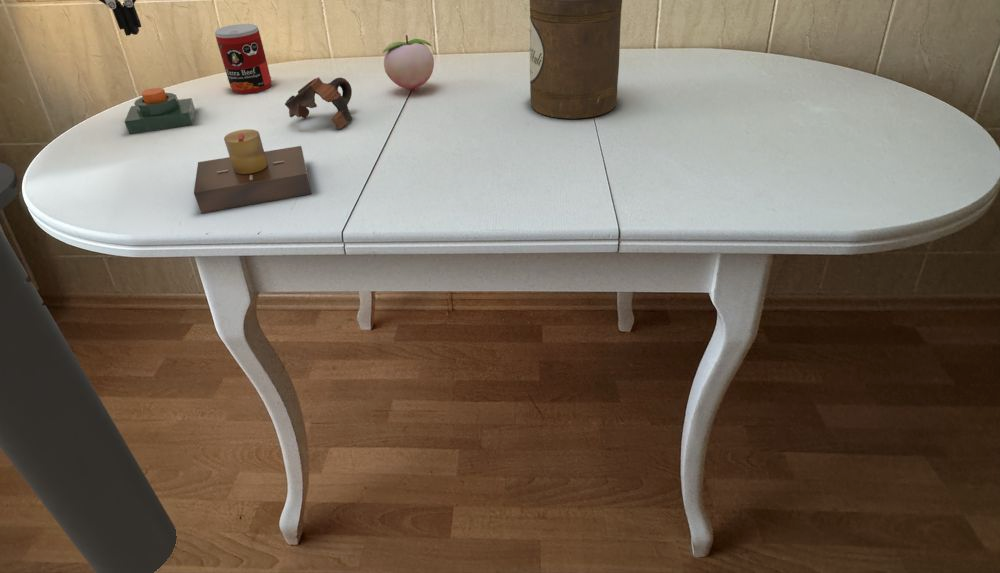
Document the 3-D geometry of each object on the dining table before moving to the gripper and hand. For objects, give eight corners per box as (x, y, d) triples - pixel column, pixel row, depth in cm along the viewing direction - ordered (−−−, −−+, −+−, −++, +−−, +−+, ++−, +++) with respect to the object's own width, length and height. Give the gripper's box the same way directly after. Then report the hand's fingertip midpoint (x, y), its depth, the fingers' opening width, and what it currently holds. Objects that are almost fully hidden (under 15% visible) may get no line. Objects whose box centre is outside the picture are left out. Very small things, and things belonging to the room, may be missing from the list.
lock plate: (201, 213, 80) (193, 191, 78) (204, 181, 88) (197, 160, 86) (311, 193, 83) (306, 172, 82) (305, 164, 91) (300, 144, 89)
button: (143, 106, 104) (139, 95, 103) (146, 99, 107) (142, 89, 106) (166, 103, 105) (163, 92, 104) (168, 96, 108) (165, 86, 107)
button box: (129, 134, 104) (119, 110, 102) (135, 118, 110) (126, 96, 108) (192, 124, 106) (185, 102, 104) (195, 110, 113) (188, 88, 110)
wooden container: (544, 87, 116) (544, -45, 103) (623, 93, 111) (634, -44, 98) (518, 115, 104) (515, -30, 92) (605, 123, 100) (615, -28, 87)
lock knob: (234, 163, 85) (224, 129, 82) (267, 158, 86) (258, 125, 83) (233, 176, 82) (222, 141, 79) (267, 171, 83) (258, 136, 80)
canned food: (225, 94, 119) (207, 34, 113) (240, 81, 126) (224, 24, 119) (264, 93, 119) (248, 33, 112) (277, 80, 125) (263, 23, 119)
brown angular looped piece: (332, 139, 100) (296, 96, 96) (304, 152, 107) (270, 112, 103) (375, 98, 106) (343, 56, 102) (346, 113, 113) (315, 74, 109)
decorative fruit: (404, 102, 112) (397, 44, 106) (381, 92, 117) (372, 36, 111) (446, 90, 116) (442, 34, 111) (422, 80, 122) (417, 26, 116)
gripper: (142, -106, 94) (184, 22, 105) (31, -99, 90) (86, 33, 101) (136, -103, 88) (180, 32, 99) (17, -95, 84) (76, 45, 95)
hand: (132, 32), depth 100 cm, fingers closed
